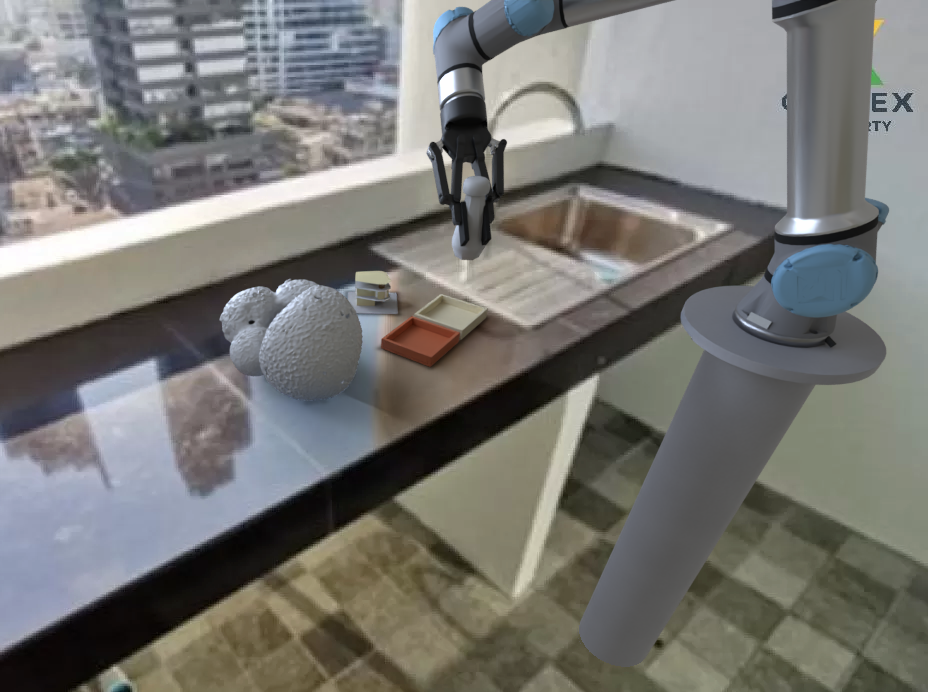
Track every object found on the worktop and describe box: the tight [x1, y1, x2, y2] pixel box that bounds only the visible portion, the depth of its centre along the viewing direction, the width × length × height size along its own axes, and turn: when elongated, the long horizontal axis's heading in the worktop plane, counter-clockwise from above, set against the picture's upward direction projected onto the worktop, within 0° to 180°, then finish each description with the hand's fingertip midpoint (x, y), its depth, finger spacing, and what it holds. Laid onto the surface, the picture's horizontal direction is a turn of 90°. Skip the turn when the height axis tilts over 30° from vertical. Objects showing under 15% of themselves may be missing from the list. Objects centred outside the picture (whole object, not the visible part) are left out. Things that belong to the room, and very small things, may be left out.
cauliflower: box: [219, 278, 363, 402], centre depth 96 cm, size 20×25×22 cm
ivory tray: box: [413, 293, 489, 341], centre depth 115 cm, size 10×10×2 cm
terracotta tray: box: [380, 315, 460, 368], centre depth 108 cm, size 10×10×2 cm
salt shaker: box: [451, 175, 491, 261], centre depth 101 cm, size 6×6×13 cm
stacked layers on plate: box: [347, 270, 399, 315], centre depth 120 cm, size 10×9×6 cm
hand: (475, 242), depth 99 cm, fingers closed on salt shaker, 3 cm apart
